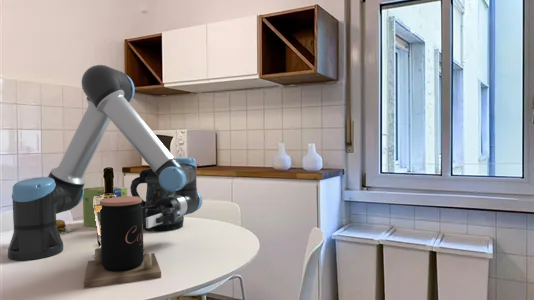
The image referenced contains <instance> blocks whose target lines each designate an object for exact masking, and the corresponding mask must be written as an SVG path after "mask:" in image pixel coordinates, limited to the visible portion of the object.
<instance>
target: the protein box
mask: <svg viewBox="0 0 534 300" xmlns="http://www.w3.org/2000/svg"><path fill="white" fill-rule="evenodd" d="M113 187H114V194H115V195H116V197H123V196H128V188H127V187H121V186H120V187H119V186H113ZM83 189H84V196H83V198H82V209H83V210H82V212H83V226H86V227H91V228H97V227H96V221H95V214H94V208H93V197H94V196H100V195H103V194H104V186H97V187H96V186H95V187H87V188H83Z"/></svg>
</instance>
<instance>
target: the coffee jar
mask: <svg viewBox="0 0 534 300" xmlns="http://www.w3.org/2000/svg"><path fill="white" fill-rule="evenodd" d="M142 199H143V198H142V197H141V196H140V197H136V196H132V195H131V196H129V195H127V196H123V197H112V198H106V199H102V200H101V201H100V204H101V205H102V209H101V210H100V225H101V228H100V248H101V261H102V266H103V267H104V268H105V270H107V271H112V272H120V271H128V270H132V269H135V268H137V267H139V266H140V265H141V264H142V262H143V260H144V253H145V252H144V250H145V249H144V230H143V208H142V206H141V202H142Z"/></svg>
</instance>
